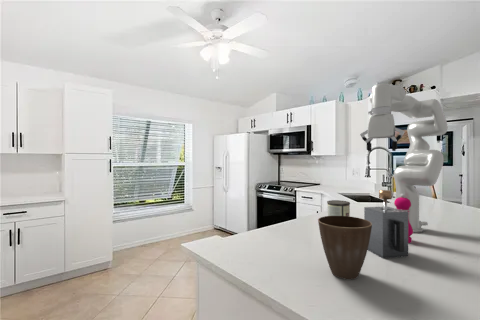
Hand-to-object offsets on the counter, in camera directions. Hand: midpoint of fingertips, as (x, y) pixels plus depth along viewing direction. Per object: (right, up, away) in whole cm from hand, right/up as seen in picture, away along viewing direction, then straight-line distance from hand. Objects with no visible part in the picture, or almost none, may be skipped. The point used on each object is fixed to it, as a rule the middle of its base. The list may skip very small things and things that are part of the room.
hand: (381, 151), depth 109 cm
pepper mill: (+7, -38, -4) cm, 39 cm away
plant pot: (-31, -38, -35) cm, 61 cm away
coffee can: (-15, -39, +11) cm, 43 cm away
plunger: (-9, -33, -17) cm, 38 cm away
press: (-8, -38, -19) cm, 43 cm away
